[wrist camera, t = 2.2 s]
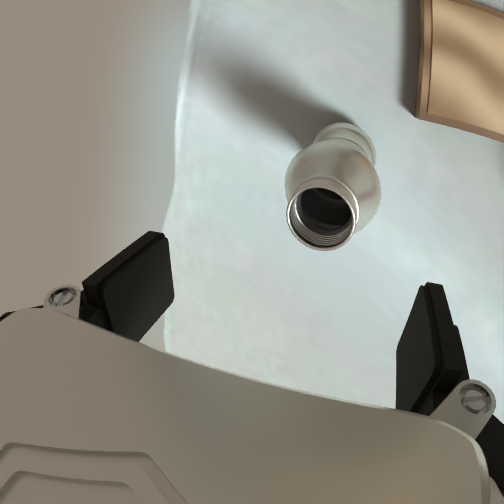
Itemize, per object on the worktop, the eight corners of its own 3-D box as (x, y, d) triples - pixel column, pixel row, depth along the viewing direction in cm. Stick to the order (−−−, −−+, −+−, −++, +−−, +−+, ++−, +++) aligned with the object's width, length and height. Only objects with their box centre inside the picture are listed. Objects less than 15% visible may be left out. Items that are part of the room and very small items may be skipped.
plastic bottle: (345, 108, 31) (320, 126, 14) (387, 155, 31) (410, 231, 15) (303, 146, 34) (233, 208, 18) (344, 191, 35) (317, 294, 18)
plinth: (419, -4, 22) (423, -13, 19) (532, 34, 18) (544, 30, 15) (414, 116, 28) (419, 119, 26) (524, 148, 25) (536, 154, 22)
